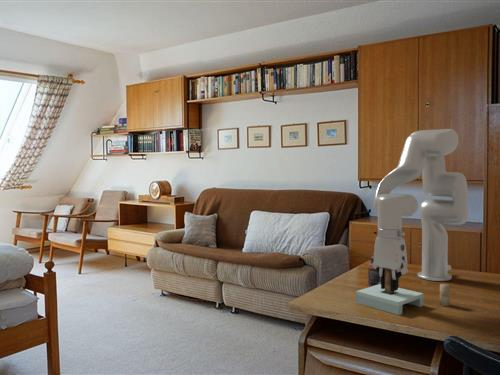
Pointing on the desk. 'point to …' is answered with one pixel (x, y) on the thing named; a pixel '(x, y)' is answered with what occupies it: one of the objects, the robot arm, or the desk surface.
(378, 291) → the hole board
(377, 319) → the desk surface
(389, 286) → the long pin
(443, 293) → the medium pin
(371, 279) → the supplement bottle
